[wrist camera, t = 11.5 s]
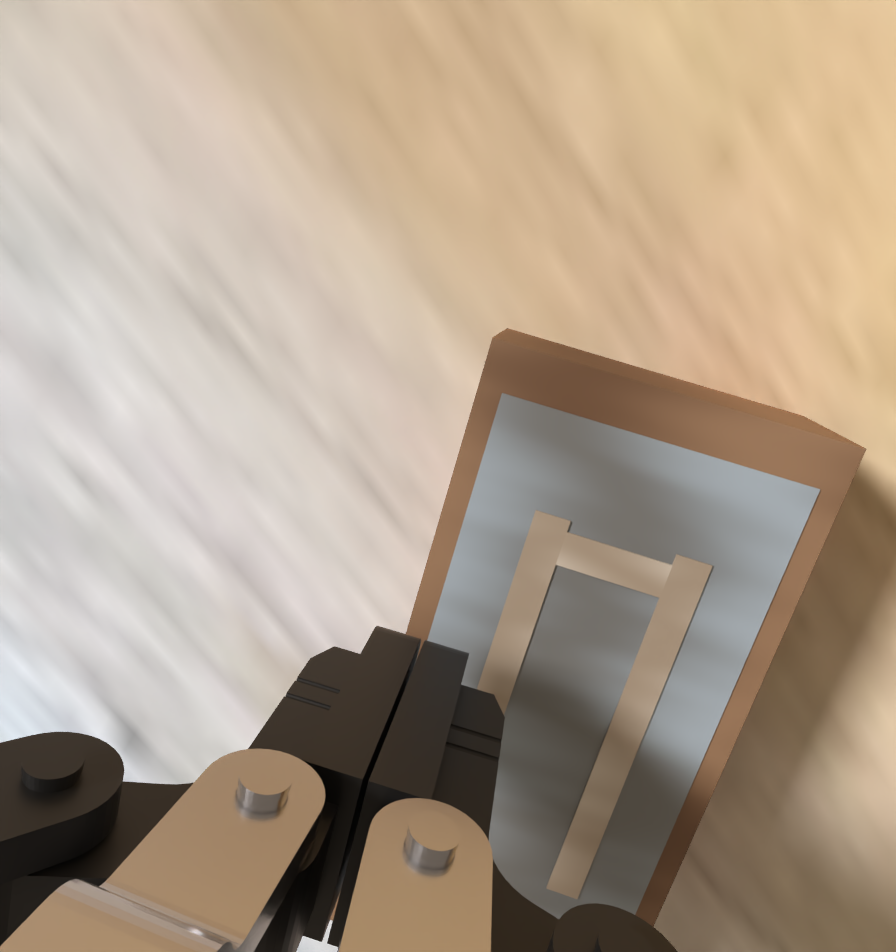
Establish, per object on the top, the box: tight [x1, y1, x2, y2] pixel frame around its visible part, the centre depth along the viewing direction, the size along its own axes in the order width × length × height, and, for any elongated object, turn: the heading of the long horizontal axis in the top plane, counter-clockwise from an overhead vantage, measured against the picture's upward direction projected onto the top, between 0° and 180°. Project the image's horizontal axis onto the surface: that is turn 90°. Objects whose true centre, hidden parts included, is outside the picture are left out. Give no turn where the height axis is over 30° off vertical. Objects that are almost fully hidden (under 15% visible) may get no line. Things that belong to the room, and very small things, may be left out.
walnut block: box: [330, 328, 866, 926], centre depth 15 cm, size 6×4×12 cm
